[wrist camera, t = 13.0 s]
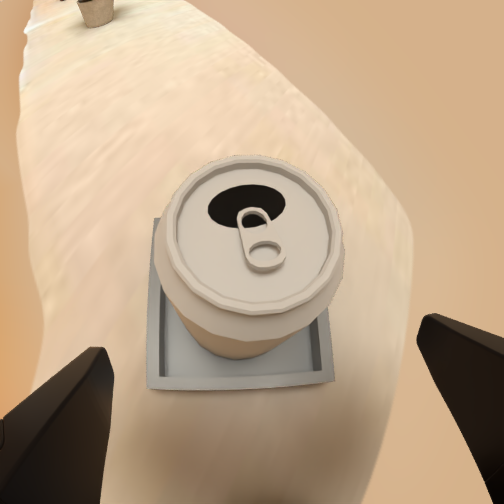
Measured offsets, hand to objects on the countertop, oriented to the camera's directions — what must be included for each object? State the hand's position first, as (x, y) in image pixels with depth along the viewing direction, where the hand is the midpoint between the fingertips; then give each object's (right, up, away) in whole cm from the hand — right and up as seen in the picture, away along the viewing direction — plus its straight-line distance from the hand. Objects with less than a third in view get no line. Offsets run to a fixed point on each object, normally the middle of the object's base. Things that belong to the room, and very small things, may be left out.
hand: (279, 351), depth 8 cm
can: (-2, -1, +14) cm, 14 cm away
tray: (-2, -1, +14) cm, 14 cm away
